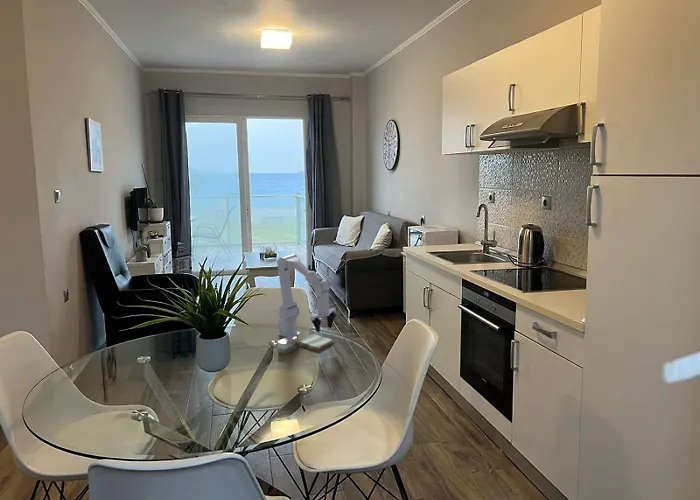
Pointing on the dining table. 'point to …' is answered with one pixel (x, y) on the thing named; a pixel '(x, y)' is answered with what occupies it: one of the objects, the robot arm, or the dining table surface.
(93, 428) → the dining table surface
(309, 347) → the stand
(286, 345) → the housing
